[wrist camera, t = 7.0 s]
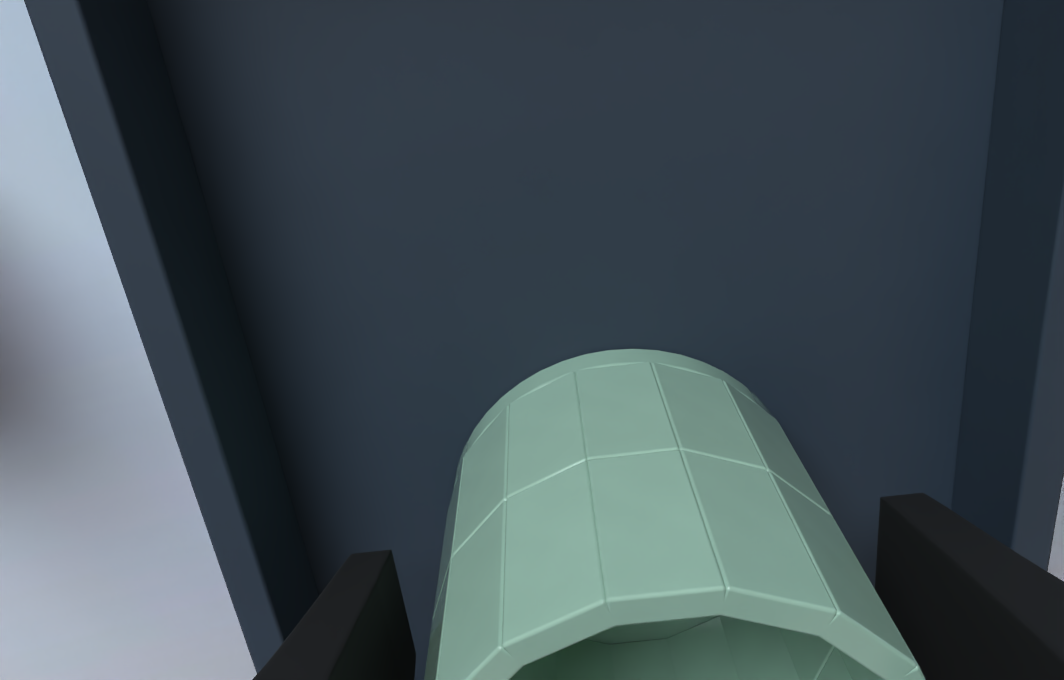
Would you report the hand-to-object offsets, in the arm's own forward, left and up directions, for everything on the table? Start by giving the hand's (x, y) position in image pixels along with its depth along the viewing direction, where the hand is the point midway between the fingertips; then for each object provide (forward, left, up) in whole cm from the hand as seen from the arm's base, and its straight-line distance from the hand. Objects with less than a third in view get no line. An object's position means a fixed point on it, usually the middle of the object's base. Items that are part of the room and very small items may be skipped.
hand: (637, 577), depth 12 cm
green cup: (0, 0, -2) cm, 2 cm away
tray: (+3, 0, -2) cm, 4 cm away
